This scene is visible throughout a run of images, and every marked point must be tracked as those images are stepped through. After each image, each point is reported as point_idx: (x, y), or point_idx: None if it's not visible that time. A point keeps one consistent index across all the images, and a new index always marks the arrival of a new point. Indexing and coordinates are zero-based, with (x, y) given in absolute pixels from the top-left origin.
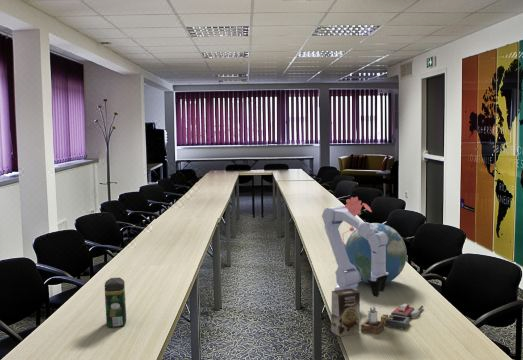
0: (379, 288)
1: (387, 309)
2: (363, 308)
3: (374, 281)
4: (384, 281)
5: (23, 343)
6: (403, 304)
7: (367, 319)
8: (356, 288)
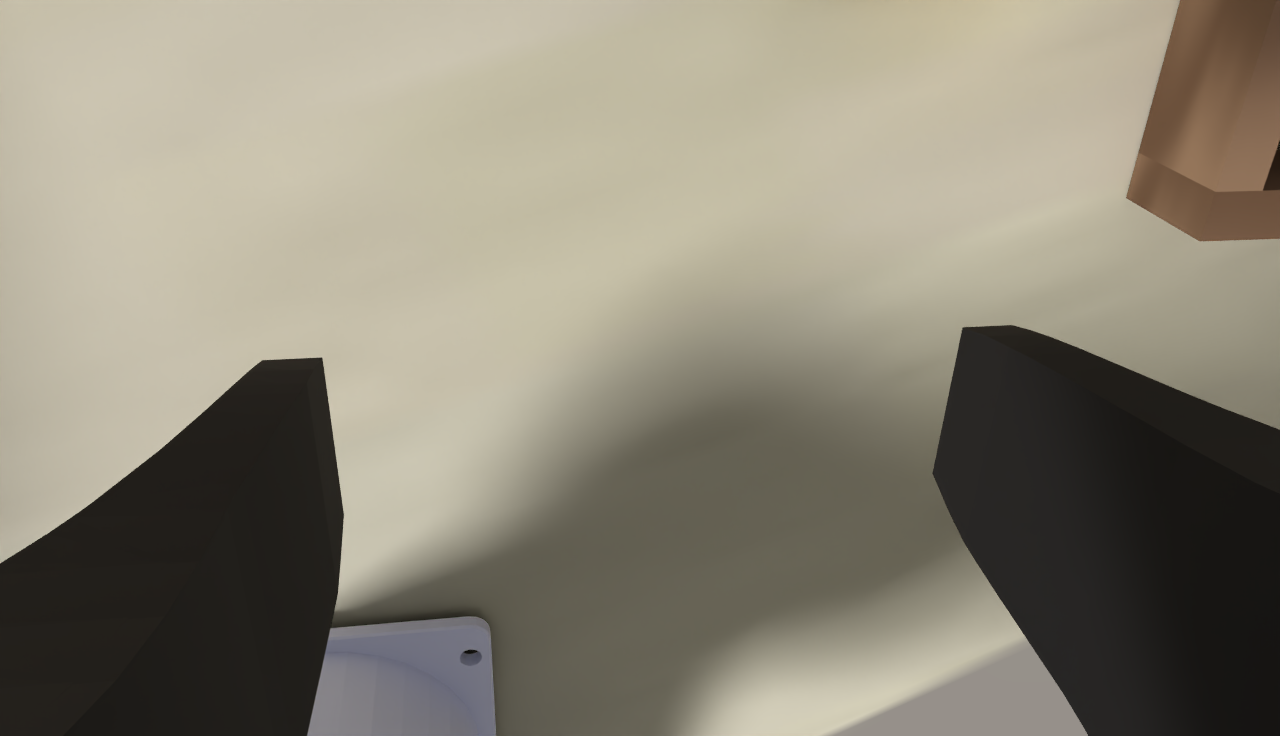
0: (1230, 448)
1: (15, 105)
2: None
3: None
4: (206, 621)
5: None
6: None
7: (1226, 220)
8: None
